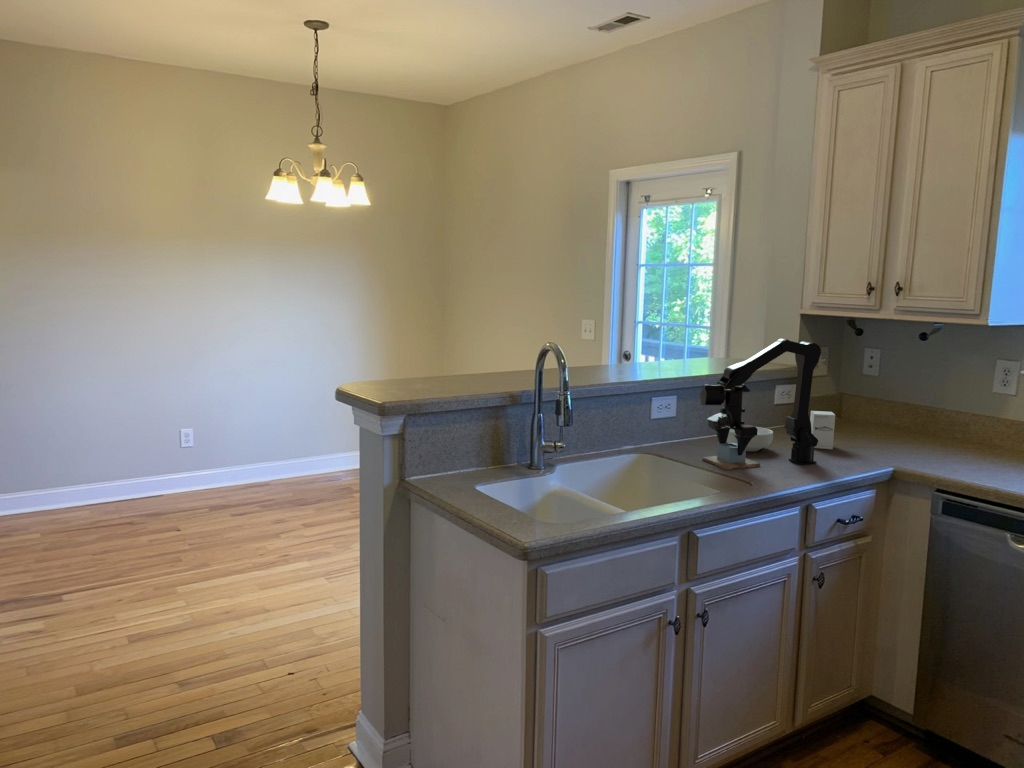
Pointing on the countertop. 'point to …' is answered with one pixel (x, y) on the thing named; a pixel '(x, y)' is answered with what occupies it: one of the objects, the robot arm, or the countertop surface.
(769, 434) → the cereal bowl
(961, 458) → the countertop surface
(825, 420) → the supplement box
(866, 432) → the countertop surface
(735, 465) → the wooden peg base
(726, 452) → the blue-grey square socket block
